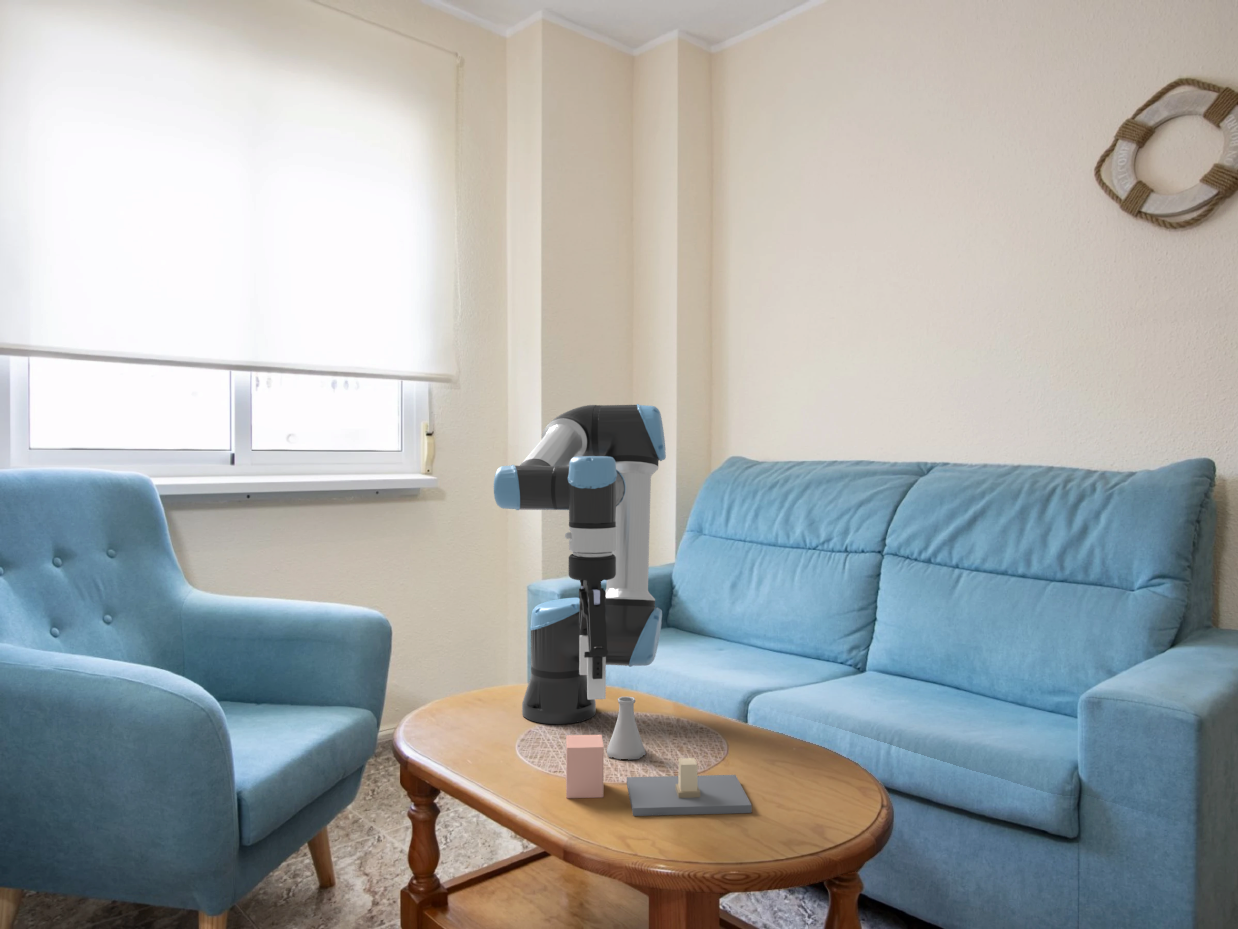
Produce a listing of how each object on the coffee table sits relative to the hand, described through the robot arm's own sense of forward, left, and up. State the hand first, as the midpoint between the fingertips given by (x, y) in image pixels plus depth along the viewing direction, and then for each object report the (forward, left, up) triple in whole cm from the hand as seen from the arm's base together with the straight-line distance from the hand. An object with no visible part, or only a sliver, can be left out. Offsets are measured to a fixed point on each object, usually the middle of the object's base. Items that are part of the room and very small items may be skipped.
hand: (591, 686), depth 139 cm
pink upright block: (-1, -1, -17) cm, 17 cm away
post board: (+3, +15, -17) cm, 23 cm away
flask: (-17, +7, -17) cm, 25 cm away
